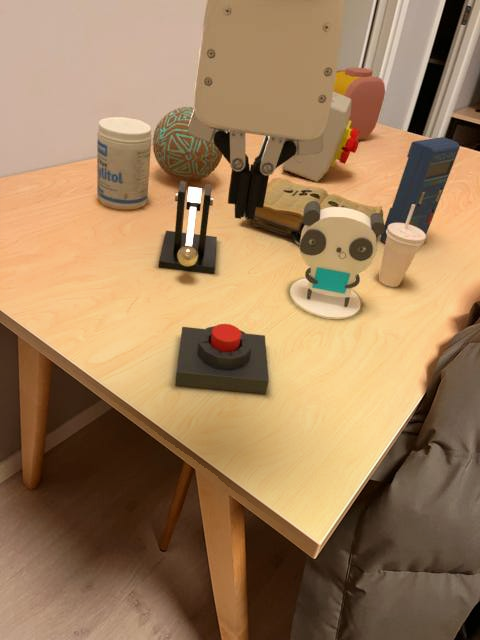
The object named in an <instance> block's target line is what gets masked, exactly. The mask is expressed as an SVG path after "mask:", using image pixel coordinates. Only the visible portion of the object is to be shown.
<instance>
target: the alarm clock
mask: <svg viewBox="0 0 480 640" xmlns="http://www.w3.org/2000/svg"><path fill="white" fill-rule="evenodd" d="M373 73H374V71H373V70H372V69H370V68H366V67H347V68H345V69H337V71H336V78H335V84H334V90H333V92H336V93H338V94H341V95H343V96H346V97H348V98H350V99H351V115H350V118H349V120H350V121H351V124H350V127H349V128H350V129H353V128H355V129H357V130H359V132H358V135H357V137H356V140H357V141H363V140H364V139H366V138H368V137H369V136H370V135H371V134H372V133H373V131H374V130H375V128H376V126H377V123H378V120H379V117H380V114H381V111H382V107H383V103H384V100H385V96H386V87H385V82H384V80H383V79H382V78H381V77H379V76H373Z"/></svg>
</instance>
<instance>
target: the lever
mask: <svg viewBox="0 0 480 640" xmlns="http://www.w3.org/2000/svg"><path fill="white" fill-rule="evenodd" d="M202 196H203V188H201V187H196V186H195V187H194V186H188V187H187V194H186V204H185V207H186V208H185V209H186V210H187V211H188V219H187V228H186V233H187V235H186V243H185V246H183V247H181V248H180V249H179V251H178V253H177V258H178V261H179V262H180V264H182V265H183V266H192V265H194V264H195V263H196V262H197V260H198V252H197V250H196V249H195V248H194V247H192V246H193V237H194V234H195V227H196V221H197V219H196V218H197V212H201V207H202V206H201V205H202V199H203V197H202Z"/></svg>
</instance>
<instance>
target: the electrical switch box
mask: <svg viewBox="0 0 480 640" xmlns="http://www.w3.org/2000/svg"><path fill="white" fill-rule="evenodd" d="M350 115H351V99H350V98H348V97H346V96H343V95H341V94H338V93H336V92H333V96H332V102H331V107H330V112H329V116H328V120H327V123H326V126H325V129H324V131H323V149H322V151H321V152H320V153H318V154H310V155H300V156H299V155H294V156H293V157H291V158H290V159H288V160H287V161H286V162H284V163H283V164H282V167H281V168H282V170H284V171H287V172H289V173H292V174H295V175H297V176H300V177H302V178H305V179H307V180H310V181H312V182H315V183H317V182H320V180H321V179H322V178H323V177H324V176H325V174H327V172H328V171H329V169H330V166H331V167H334V165H335V163H336V160H337V161H339V163H341V164H344V165H346V163H347V161H348V159H349V156H350V154H351V153H357V149H358V148H359V144H360V140H356V137H357V135H358V132H359V130H357V129H355V128H353V129H350V128H349V127H350V124H351V121H350V120H349V118H350Z"/></svg>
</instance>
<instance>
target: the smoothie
mask: <svg viewBox="0 0 480 640" xmlns="http://www.w3.org/2000/svg"><path fill="white" fill-rule="evenodd" d="M414 208H415V205H414V204H412V206H411V209H410V212H409V214H408V217H407V220H406V223H392V224H389V225H388V228H387V230H386V233H387V238H386V243H384V247H383V248H384V249H383V252H382V253H383V254H382V259H381V263H380V269H379V274H378V281H379V282H380V283H381V284H382V285H384V286H386V287H390V288H396V287H399V286H400V284H401V283H402V281H403V279H404V277H405V275H406V274H407V271H408V269H409V268H410V267H411V264H412V262H413V260H414V258H415V257H416V255H417V253H418V252H419V249H420V247H421V245H423V244H425V242H426V238H427V234H425V233H424V232H423V231H422V230H421V229H419V228H417V227H415V226H412V225H409V222H410V219H411V216H412V214H413V211H414Z"/></svg>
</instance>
